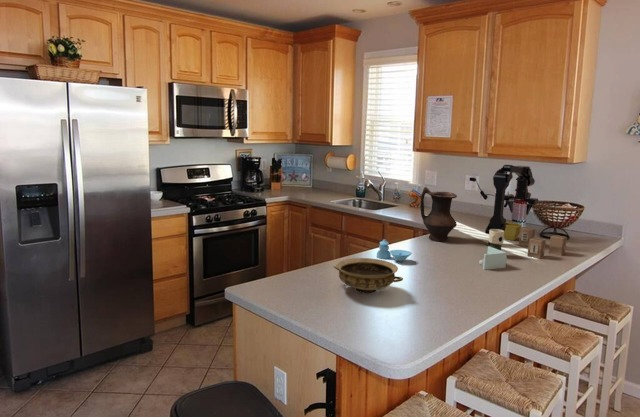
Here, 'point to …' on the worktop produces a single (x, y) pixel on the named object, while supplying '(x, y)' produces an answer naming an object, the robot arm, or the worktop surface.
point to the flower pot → (512, 231)
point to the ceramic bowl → (367, 274)
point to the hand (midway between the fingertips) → (519, 213)
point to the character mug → (496, 238)
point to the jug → (438, 215)
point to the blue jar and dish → (391, 252)
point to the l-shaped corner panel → (493, 259)
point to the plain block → (557, 245)
